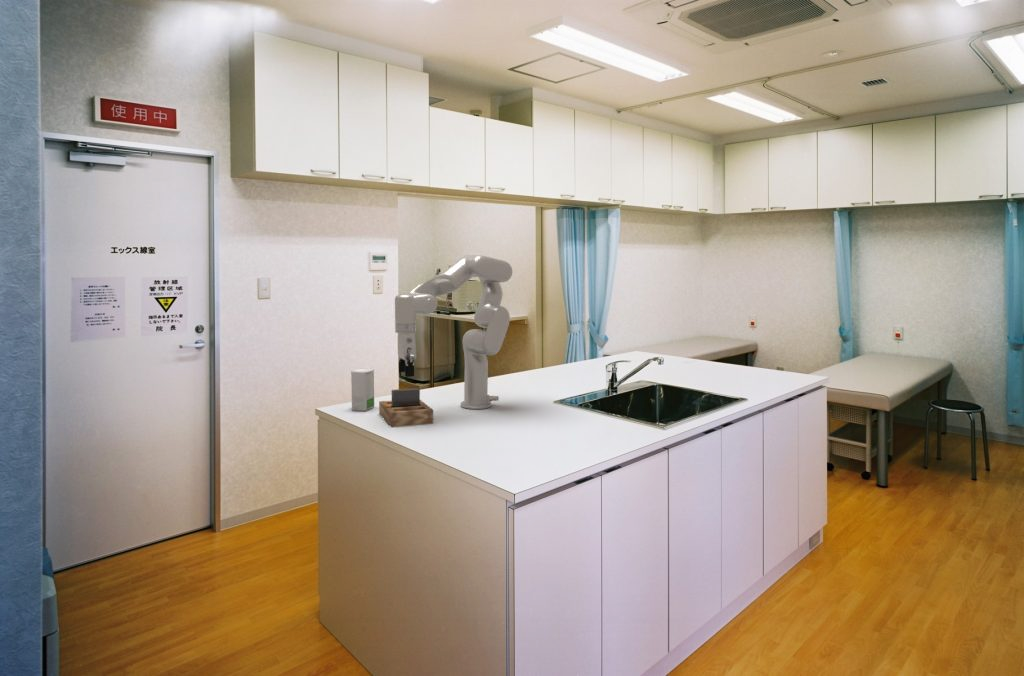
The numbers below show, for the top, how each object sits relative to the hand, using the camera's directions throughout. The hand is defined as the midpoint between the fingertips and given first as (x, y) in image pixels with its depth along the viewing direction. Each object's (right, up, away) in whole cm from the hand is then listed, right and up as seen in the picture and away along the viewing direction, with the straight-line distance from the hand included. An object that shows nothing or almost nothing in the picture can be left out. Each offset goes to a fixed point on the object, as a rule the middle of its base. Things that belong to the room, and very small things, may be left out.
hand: (406, 374), depth 227 cm
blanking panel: (0, -15, +1) cm, 15 cm away
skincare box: (-20, -15, +16) cm, 30 cm away
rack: (-1, -17, +2) cm, 17 cm away
